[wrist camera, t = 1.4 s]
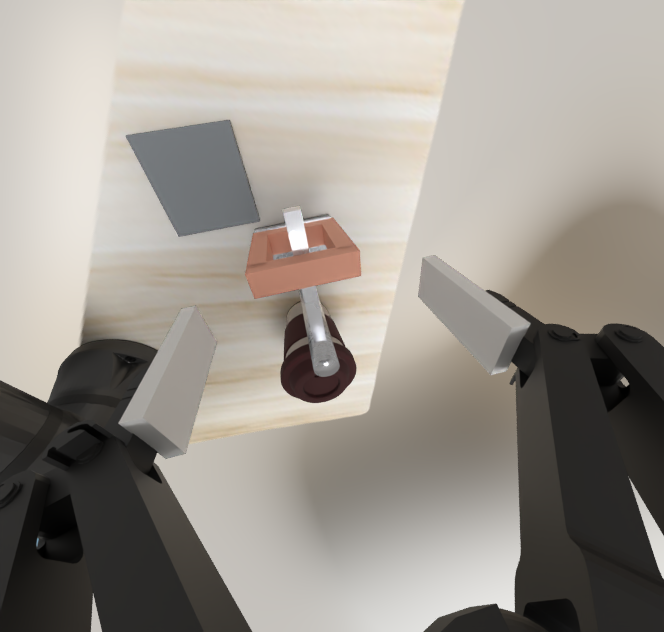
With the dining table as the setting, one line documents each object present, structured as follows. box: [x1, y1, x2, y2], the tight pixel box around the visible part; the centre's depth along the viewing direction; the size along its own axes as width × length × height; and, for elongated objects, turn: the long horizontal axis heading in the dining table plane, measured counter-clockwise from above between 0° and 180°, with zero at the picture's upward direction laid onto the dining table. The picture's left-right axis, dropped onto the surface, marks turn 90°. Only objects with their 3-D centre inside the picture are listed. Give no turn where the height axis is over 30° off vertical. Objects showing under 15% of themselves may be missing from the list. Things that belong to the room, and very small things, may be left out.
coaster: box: [126, 120, 260, 237], centre depth 27 cm, size 10×10×1 cm
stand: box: [254, 206, 340, 377], centre depth 25 cm, size 10×14×19 cm
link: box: [245, 218, 361, 299], centre depth 20 cm, size 8×2×9 cm, turn 97°
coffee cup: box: [281, 302, 356, 403], centre depth 35 cm, size 10×10×15 cm
